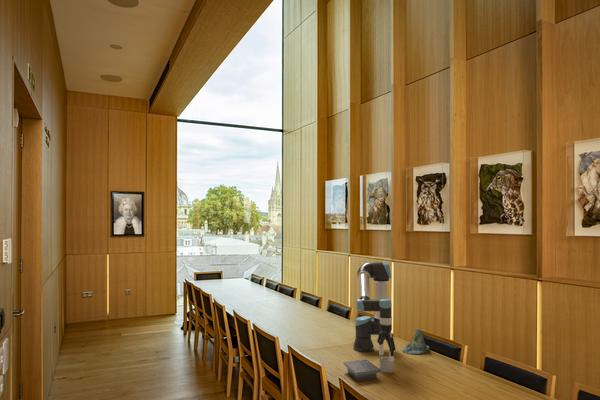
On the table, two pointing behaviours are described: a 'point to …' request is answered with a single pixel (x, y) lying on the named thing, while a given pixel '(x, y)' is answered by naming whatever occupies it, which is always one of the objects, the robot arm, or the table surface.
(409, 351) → the tree stump
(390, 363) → the medicine box
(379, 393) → the table surface
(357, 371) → the display plinth
